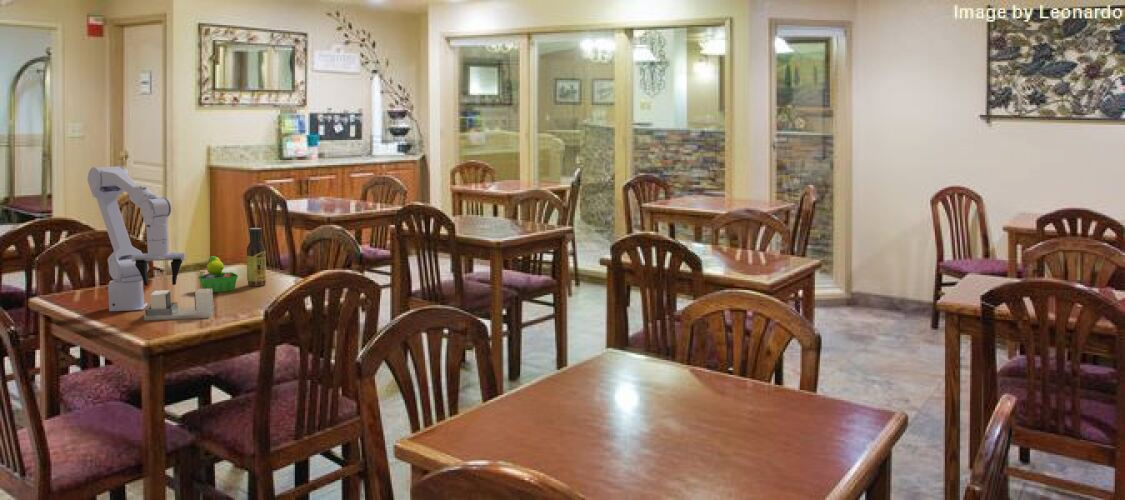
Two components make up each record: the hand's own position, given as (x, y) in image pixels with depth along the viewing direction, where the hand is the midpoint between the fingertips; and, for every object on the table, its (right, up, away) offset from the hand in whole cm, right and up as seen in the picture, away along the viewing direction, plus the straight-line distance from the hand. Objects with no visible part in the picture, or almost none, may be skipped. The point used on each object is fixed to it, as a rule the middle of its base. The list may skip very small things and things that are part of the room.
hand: (160, 284), depth 269 cm
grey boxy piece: (+5, -9, +2) cm, 11 cm away
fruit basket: (+3, -3, +38) cm, 39 cm away
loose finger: (0, -8, +1) cm, 8 cm away
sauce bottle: (+13, -2, +47) cm, 49 cm away
